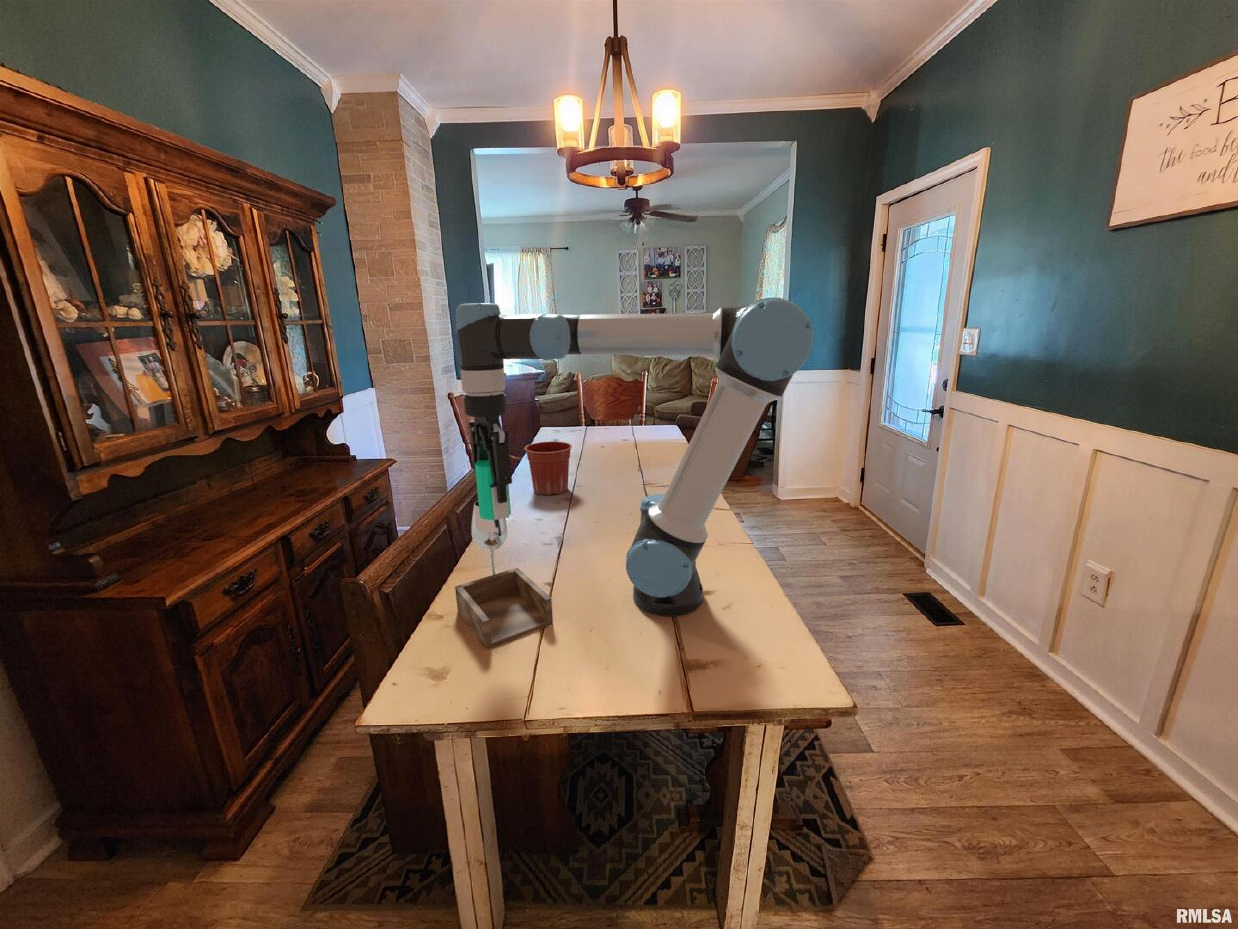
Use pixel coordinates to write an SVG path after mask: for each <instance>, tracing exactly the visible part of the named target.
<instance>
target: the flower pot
mask: <svg viewBox="0 0 1238 929" xmlns="http://www.w3.org/2000/svg"><path fill="white" fill-rule="evenodd" d="M572 447H573V444H571V443H568V442H565V441H554V440H553V441H541V442H535V443H534V442H533V443H530V444H527V445H526V446H525V447H524V450H525V452H526V458H527V460H528V463H529V469H530V470H529V471H530V476H531V483H532V488H533V492H534V493H535V494H537V495H542V496H552V495H553V494H555V495H559V494H564V493H565V492H566V491H568V489H569V473H570V472H569V470H570V469H569V468H570V458H571V449H572Z"/></svg>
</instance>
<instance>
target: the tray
mask: <svg viewBox="0 0 1238 929" xmlns="http://www.w3.org/2000/svg"><path fill="white" fill-rule="evenodd" d="M454 591H455V597H456V598H455V599H456V607H457V608H456V609H457V612H458V614H459V616H460V617H462V619H463V621H465V623H466V624H467V626H468V627H469V629H470V630H471V631H472V633H473V634H474V636H475V637H476V638H477V639H478V641H479V642H480V643H481V645H482V647H484V649H485V650H488V649H490V648H493V647H495V646H497V645H501V644H503V643H506V642H508V641H512V640H514V639H516V638H519V637H522V636H525V635H527V634H530V633H533V632H535V631H537V630H541V629H543V628H545V627H548V626H550V625H553V623H554V622H553V621H554V618H553V604H552V603H553V602H552V597H551V596H550V595H549V594H548V593H546V592H545V591H544V590H543V589H542V587H540V586H539V585H538V584H536V583H535V582H534V581H533V580H532V579H531V578H530V577H528V575H526V574H525V572H523V571H522V570H521V569H520V568H519V567H514V568H512V569H509V570H508V569H507V570H505V571H502V572H501V571H500V572H499V573H495V575H492V574H491V575H489V576H486V577H482V578H479V579H475V580H472V581H469V582H465V583H463V584H458V585H456V586H454Z"/></svg>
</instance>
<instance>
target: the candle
mask: <svg viewBox="0 0 1238 929" xmlns="http://www.w3.org/2000/svg"><path fill="white" fill-rule="evenodd" d="M475 479H476V491H477V492H476V493H477V501H478V503H479V514H480V518H482V519H485V520H495V519H494V511H493V499H492V488H491V487H490V485H491V484H493V479H492V474H491V469H490V464H489V460H486V461H483V460H479V461H478V462H476V463H475ZM509 485H510V484H508V485H507V494H508V506H509V516H511V514H512V513H511V512H512V511H511V500H510V488H509V487H510V486H509ZM501 519H502V518H501Z"/></svg>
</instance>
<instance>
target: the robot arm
mask: <svg viewBox="0 0 1238 929" xmlns="http://www.w3.org/2000/svg"><path fill="white" fill-rule="evenodd" d="M455 321H456V325H455V326H456V329H455V333H456V335H457V342H458V352H459V353H458V354H459V360H460V362H459V363H460V379H461V389H462V392H463V393H465V394H463V395H464V396H463V408H464V414H465V415H466V416H467V417H470V418H471V417H472V418H473V419H474V420H471V421H468V428H469V432H470V443H471V444H470V445H471V457H472V470H473V471H475V463H476V462H478V461H479V460H483V461H486V460H489V464H490V469H491V474H492V479H493V484H491V485H490V487H491V488H492V499H493V511H494V519H495V520H497V519H501V518H505V519H506V518H509V517H510V515H509V506H508V494H507V485H508V484H509V485H510V484H511V485H512V483H513V479H512V468H511V467H512V466H511V458H510V449H509V448H510V447H509V431H508V430H507V429H506V430H503V427H502V425H501V421H500V416H502V415H504V414H506V413H507V412H508V406H507V405H508V404H507V394H505V392H503V391H505V390H506V383H505V382H506V381H505V380H506V379H505V378H507V373H506V372H505V365H504V360H542V361H553V360H561V359H564V358H565V357H567V355H574V356H575V355H578V356H579V355H604V356H605V355H614V356H615V355H617V356H618V355H619V356H620V355H621V356H624V355H625V356H627V355H628V356H630V355H631V356H696V357H698V356H700V357H701V356H703V357H704V356H705V357H706V356H707V357H711V356H712V357H713V358H714V359H715V360H716V361H717V362H716V365H715V367H714V370H715V372H716V376H717V378H718V383H717V385H716V387H715V389H714V391H713V393H712V395H711V397H710V399H709V401H708V403H707V405H706V408H705V410H704V412H703V413H702V415H701V418H700V421H699V422H698V424H697V426H696V428H695V431H694V433H693V435H692V438H691V439H690V441H689V443H688V445H687V447H686V450H685V451H684V454H683V456H682V458H681V460H680V461H679V464H678V467H677V468H676V470H675V473H674V474H673V477H672V478H671V481H670V483H669V485H668V487H667V489H666V492H665V493H664V494H663V493H662V494H652V495H648V496H644V498H643V499H642V500H641V504H640V508H639V511H640V523H639V526H638V529H637V531H636V534H635V537H634V539H633V541H632V544H631V546H630V547H629V549H628V551H627V553H626V560H625V570H626V573H627V576H628V578H629V580H630V582H631V583H632V585H633V587H632V589H633V590H632V598H633V602H634V603H635V604H636V606H637V607H638V608H640V609H641V610H643V611H645V612H648V613H650V614H652V615H656V616H657V615H658V616H665V617H677V616H683V615H686V614H690V613H692V612H694V611H697V610H698V609H699V608H700V607H701V606H702V604H703V601H704V589H703V584H702V583H701V578H700V575H699V572H698V569H697V566H696V565H697V563H696V562H697V561H696V560H697V559H698V557H699V554H700V553H701V552H702V549H703V547H704V546H705V543H706V541H707V539H708V537H709V534H708V530H707V528H706V523H707V520H708V519H709V516H710V514H711V513H712V511H713V509H714V507H715V505H716V503H717V502H718V499H719V497H720V496H721V494H722V491H723V489H724V488H725V486H726V484H727V482H728V480H729V478H730V476H731V474H732V472H733V471H734V468H735V467H736V465H737V463H738V461H739V459H740V457H741V455H742V453H743V451H744V449H745V447H746V445H747V443H748V441H749V439H750V438H751V436H752V434H753V432H754V430H755V428H756V426H757V424H758V422H759V420H760V419H761V416H762V414H763V413H764V411H765V409H766V407H767V405H768V404H769V403H771V402H773V401H777V400H779V399H781V398H782V397H783V395H784V394H785V392H786V389H787V387H788V386H789V384H790V382H791V380H792V378H793V376H794V374H796V373H797V372H798V371H799V370H800V369H801V368H802V367H803V365H805V364H806V362H807V360H808V359H809V357H810V354H811V352H812V350H813V345H814V330H813V325H812V323H811V320H810V318H809V316H808V315H807V313H806V312H805V311H804V310H803V309H802V308H801V307H800V306H799V305H798V304H796V303H794V302H792V301H790V300H788V299H784V298H781V297H775V296H774V297H765V298H762V299H758V300H757V301H755V302H753V303H752V304H746V305H740V306H734V307H733V306H732V307H719V309H718V310H716V311H715V312H714V313H708V312H707V313H623V314H622V313H621V314H620V313H615V314H614V313H613V314H612V313H611V314H610V313H607V314H604V313H601V314H600V313H598V314H596V313H595V314H564V313H562V314H561V313H560V314H559V313H556V314H552V313H541V314H540V313H539V314H534V313H533V314H513V315H511V314H510V315H507V314H502V312H501V311H500V306H499V305H498V304H497V303H485V302H484V303H482V302H481V303H461V304H459V305H457V307H456V309H455ZM475 472H476V471H475Z"/></svg>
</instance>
